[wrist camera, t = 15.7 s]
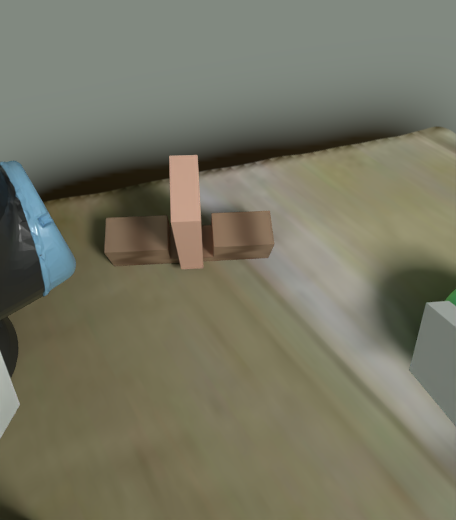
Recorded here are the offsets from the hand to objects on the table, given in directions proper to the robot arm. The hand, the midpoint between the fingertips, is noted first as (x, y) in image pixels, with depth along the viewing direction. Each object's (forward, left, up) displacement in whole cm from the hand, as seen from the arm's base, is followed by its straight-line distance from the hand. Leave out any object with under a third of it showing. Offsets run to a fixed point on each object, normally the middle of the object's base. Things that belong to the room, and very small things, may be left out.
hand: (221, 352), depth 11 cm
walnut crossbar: (-2, +19, -35) cm, 40 cm away
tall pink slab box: (-2, +19, -33) cm, 38 cm away
